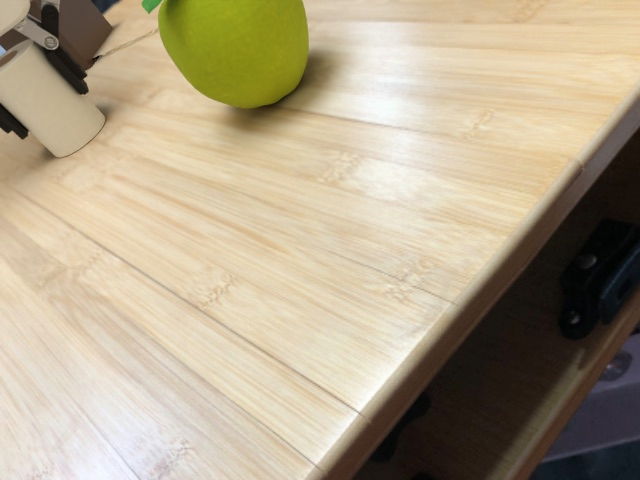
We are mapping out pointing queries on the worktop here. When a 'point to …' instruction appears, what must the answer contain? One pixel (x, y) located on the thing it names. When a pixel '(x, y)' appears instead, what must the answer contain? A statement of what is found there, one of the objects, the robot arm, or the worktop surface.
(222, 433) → the worktop surface
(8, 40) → the walnut box
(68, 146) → the towel roll
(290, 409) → the worktop surface
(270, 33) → the fruit
